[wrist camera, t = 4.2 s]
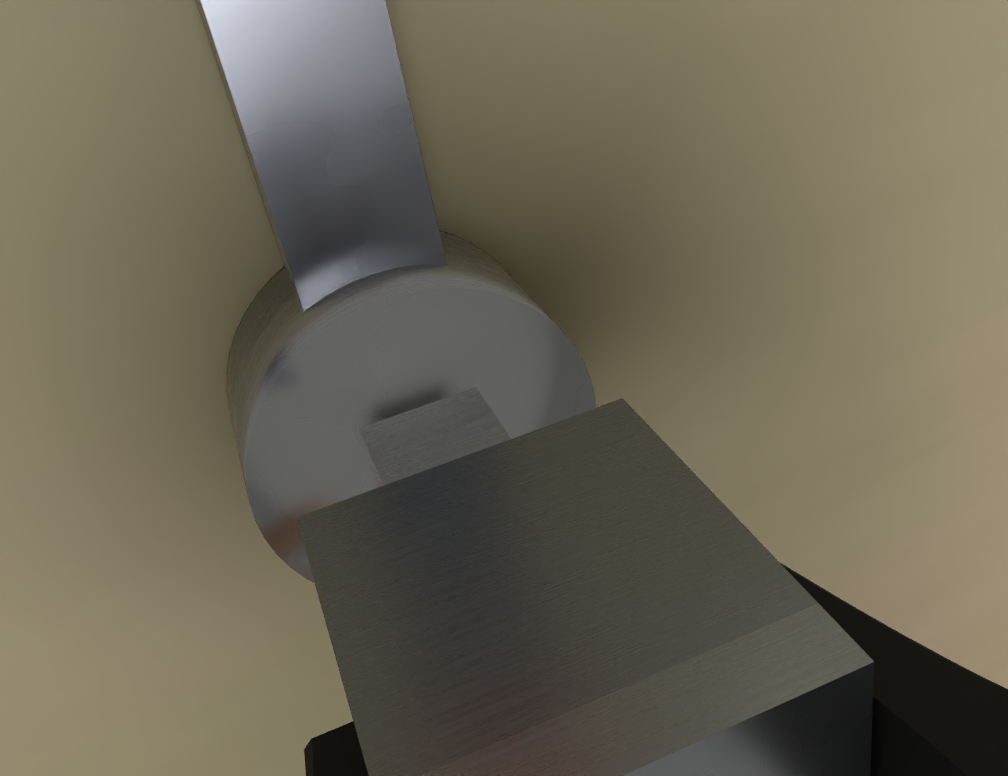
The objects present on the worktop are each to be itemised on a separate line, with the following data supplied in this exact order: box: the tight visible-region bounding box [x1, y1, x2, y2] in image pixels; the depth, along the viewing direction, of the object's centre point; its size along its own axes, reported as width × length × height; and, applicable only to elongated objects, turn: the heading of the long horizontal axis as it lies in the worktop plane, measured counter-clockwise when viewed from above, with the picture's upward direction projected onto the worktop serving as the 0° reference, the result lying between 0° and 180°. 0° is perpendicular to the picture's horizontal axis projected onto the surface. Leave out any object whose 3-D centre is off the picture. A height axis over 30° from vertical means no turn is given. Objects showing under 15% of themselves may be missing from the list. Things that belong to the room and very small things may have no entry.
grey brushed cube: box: [297, 398, 874, 776], centre depth 11 cm, size 4×4×5 cm
